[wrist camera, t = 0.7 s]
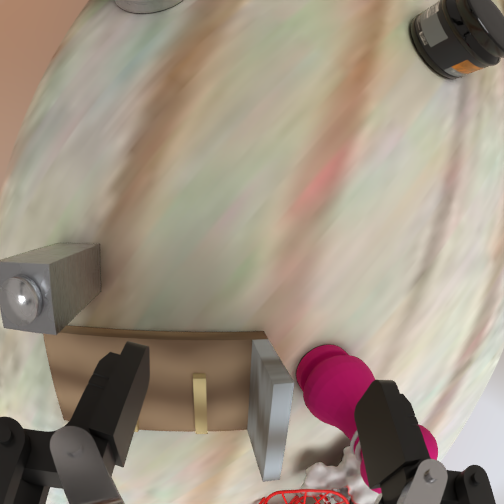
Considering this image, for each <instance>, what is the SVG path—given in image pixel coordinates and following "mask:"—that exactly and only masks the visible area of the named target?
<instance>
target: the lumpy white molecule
mask: <svg viewBox="0 0 504 504" xmlns="http://www.w3.org/2000/svg"><path fill="white" fill-rule="evenodd" d="M343 452H344V456H343V458H342V462H340V463H339V465H338V466H337V467H336V466H326V465H324V463H322V462H318V463H315V464H314V465H312V466H311V467H308V468H307V469H306V474H307V476H306V478H305V480H304V484H303V485H302V487H301V489H299V490H282V491H276V492H274V493H272V494H270V495H269V496H268V497H266V499H265V497H264V498H262V500H261V501H260V503H259V504H262V503H263V502H264V503H263V504H267V502H268V500H269V499H270V498H271V497H273V496H275V495H277V494H282V493H299V492H300V493H301V494H304V496H302V497H300V498H299V496H295V497H294V498H293V499H292V500H291V502H290V503H289V504H292V503H293V502H295V503H294V504H298V503H299V502H300V503H301V504H305V501H306V497H313V498H314V499H315V500H316V501H317V502H316V503H314V504H317V503H318V504H320V503H319V501H320V500H321V499H322V500H323V501H324V503H325V504H326V502H327V503H328V504H331V503H330V501H331V499H332V497H334V499H335V501H336V502H337V503H336V504H374V502H375V500H376V499H377V497H378V495H379V494H378V493H376V492H374V491H372V490H371V489H369V487H368V486H367V485H366V484H365V483H364V481H363V479H362V477H361V473H360V465H361V463H360V462H358V461H357V459H356V457H355V455H353V454H352V452H351V450H350V446H348V447H345V448H344V450H343ZM321 493H322V494H323V495H321ZM282 496H283V499H284V501H285V503H286V504H288V503H287V501H286V499H285V496H284V494H282ZM327 496H329V497H330V500H328V498H327ZM315 497H321V498H320V499H319V500H317V499H316V498H315ZM295 499H296V500H295ZM302 499H304V503H303V502H301V500H302Z"/></svg>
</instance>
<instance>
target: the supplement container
mask: <svg viewBox="0 0 504 504" xmlns="http://www.w3.org/2000/svg"><path fill="white" fill-rule="evenodd" d="M411 34H412V38H413V41H414V44H415V46H416V48H417V50H418V51H419V53H420V54H421V56H422V57H423V59H424V60H425V61H426V62H427V63H428V64H429V65H430V66H431V67H432V68H433V69H434V70H435V71H436V72H438V73H439V74H441V75H443V76H445V77H447V78H451V79H457V78H460V77H463V76H464V75H466V74H469V73H472V72H474V71H477V70H480V69H482V68H485V67H488V66H494V65H496V64H498V63H499V62H500V60H501V58H504V16H503V15H502V13H501V12H500V10H499V9H498V8H497V6H496V5H495V4H494V3H493V2H492V1H491V0H440V1H439V2H437V3H436V4H434V5H433V6H431V7H430V8H428V9H427V10H425V11H424V12H422V13H421V14H419V15H417V16H416V17H415V18H414V19H413V21H412V23H411Z"/></svg>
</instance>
